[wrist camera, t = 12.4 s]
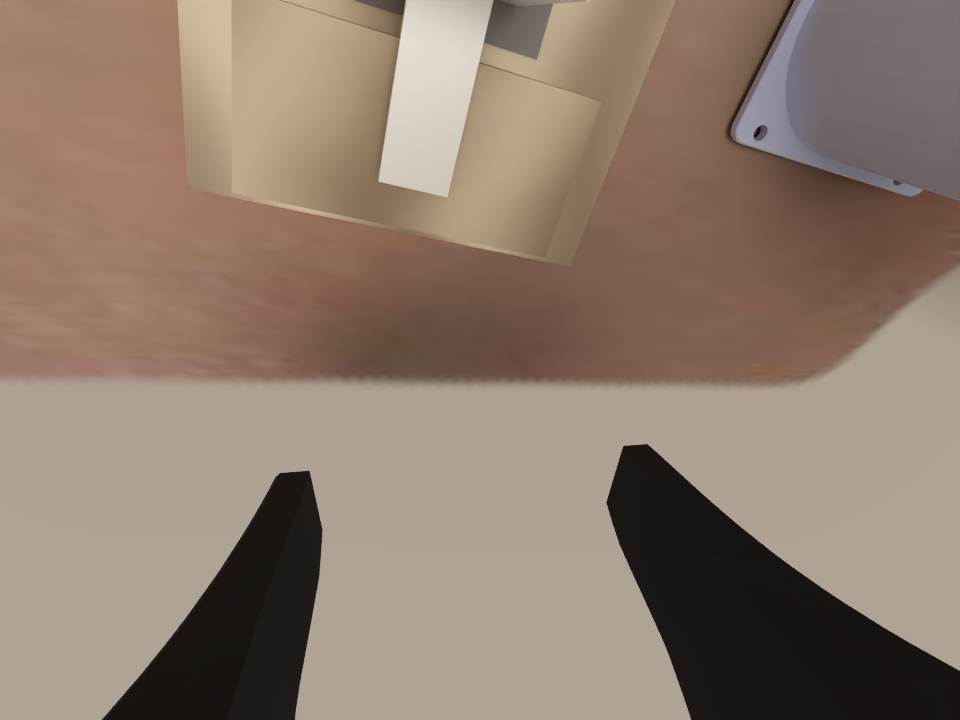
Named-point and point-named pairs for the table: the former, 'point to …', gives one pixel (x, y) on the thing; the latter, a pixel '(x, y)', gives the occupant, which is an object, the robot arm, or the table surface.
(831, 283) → the table surface
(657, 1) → the display stand
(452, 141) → the cube skewered by beam
